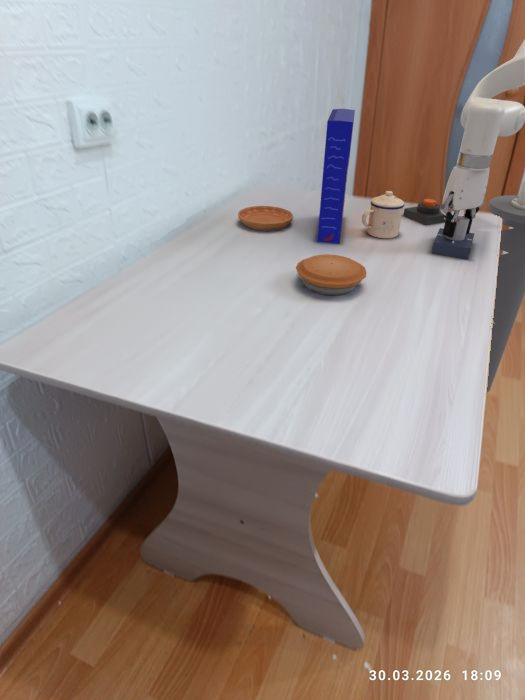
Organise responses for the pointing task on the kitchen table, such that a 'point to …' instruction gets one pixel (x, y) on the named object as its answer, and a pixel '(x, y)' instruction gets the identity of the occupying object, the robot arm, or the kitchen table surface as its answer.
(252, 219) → the saucer
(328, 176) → the cereal box
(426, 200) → the button
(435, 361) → the kitchen table surface
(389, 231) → the teacup with lid
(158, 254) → the kitchen table surface
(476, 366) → the kitchen table surface
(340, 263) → the pie
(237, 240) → the kitchen table surface
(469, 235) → the dial panel
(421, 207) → the switch block
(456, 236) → the dial
